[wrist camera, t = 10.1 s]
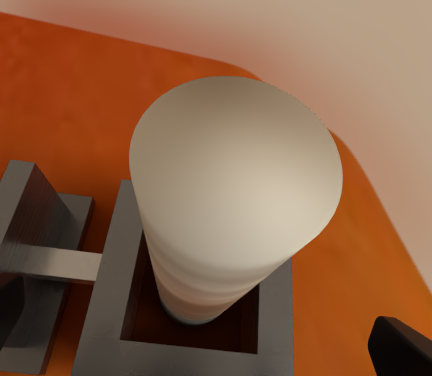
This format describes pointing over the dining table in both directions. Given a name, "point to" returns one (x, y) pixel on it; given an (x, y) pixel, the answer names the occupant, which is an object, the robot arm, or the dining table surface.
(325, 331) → the dining table surface
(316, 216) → the white upright cylinder
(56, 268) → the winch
